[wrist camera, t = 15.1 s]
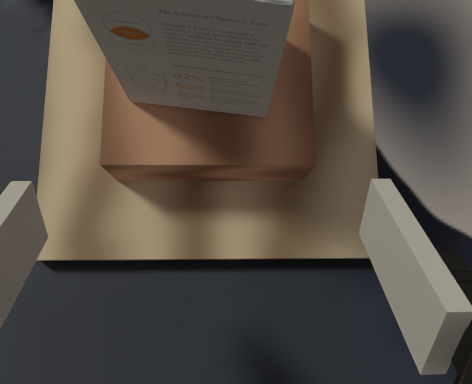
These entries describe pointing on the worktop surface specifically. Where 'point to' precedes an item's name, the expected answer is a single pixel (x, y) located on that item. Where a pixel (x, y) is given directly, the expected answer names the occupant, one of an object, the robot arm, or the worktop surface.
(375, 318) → the worktop surface
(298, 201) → the tower base
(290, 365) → the worktop surface
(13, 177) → the worktop surface
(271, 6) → the small box
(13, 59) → the worktop surface
